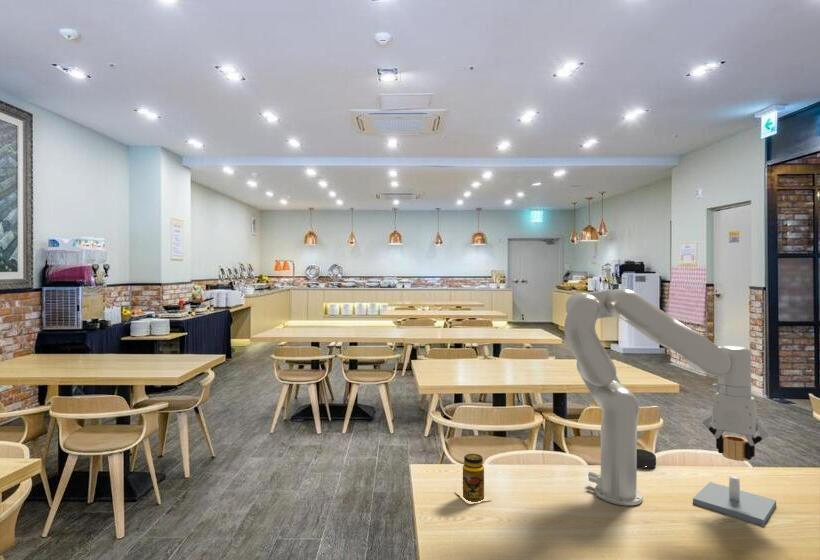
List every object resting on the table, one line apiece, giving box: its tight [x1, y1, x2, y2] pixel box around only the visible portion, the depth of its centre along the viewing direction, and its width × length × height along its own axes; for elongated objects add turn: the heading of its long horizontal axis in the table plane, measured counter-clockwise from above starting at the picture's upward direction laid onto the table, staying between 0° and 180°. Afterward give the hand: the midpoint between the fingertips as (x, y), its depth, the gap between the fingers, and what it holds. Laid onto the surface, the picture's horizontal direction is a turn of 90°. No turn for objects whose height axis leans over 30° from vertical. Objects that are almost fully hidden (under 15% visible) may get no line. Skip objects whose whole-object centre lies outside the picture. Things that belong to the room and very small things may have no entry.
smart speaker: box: [637, 448, 657, 469], centre depth 157 cm, size 9×9×4 cm
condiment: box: [462, 453, 485, 502], centre depth 132 cm, size 7×8×12 cm
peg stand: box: [692, 475, 777, 527], centre depth 128 cm, size 16×16×8 cm
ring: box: [721, 434, 749, 462], centre depth 129 cm, size 6×6×5 cm
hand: (735, 454), depth 129 cm, fingers closed on ring, 6 cm apart
